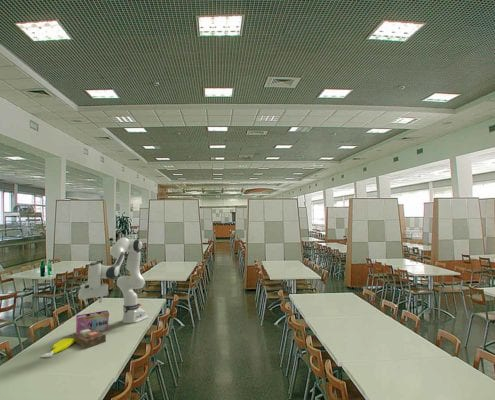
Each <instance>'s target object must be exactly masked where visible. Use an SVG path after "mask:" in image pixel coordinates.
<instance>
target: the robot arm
mask: <svg viewBox="0 0 495 400" xmlns="http://www.w3.org/2000/svg"><path fill="white" fill-rule="evenodd" d="M143 245H144V244H143V241H142V240H140V239H138V238H137V239H134V238H130V239H129V238H127V237H121V238H119V239H118V240H116V242H115V243H114V244H113V245H112V247H111V248H110V254H111V256H112V257H113V258H114V259H116V260H115V262H114V264H112V265H103V264H101V262H98V261H96V262H91V263H90V264H89V265H88V268H87V269H88V270H87V277H88V278H87V282H85V283H83V284H80V289H79V290H78V294H77V295H78V296H77V297H78V299H79V300H82V301H83V302H84V305H85V306H87V305H89V302H88V301H87V299H94V298H98V297H100V299H98V303H102V301H103V299H104V297H105V296H106V297H107V296H108V295H109V284H108V283H107V282H105V283H104V282H103V283H101V282H102V281H101V279H106V280H107V279H109V280H115V279H116V278H117V277H118V278H117V279H116V285H117V287H118V288H119V289H120V290H121V292H122V295H123V304H122V305H123V306H122V307H123V309H122V310H123V313H122V319H121V323H123V324H131V323H132V324H133V323H134V324H136V323H140V322H141V321H144V320H146V319H147V318H149V315H147V314H146V311H145V310H144V309H142V307H141V306H142V303H138V294H137V293H136V292H135V291H134V290H133V289H135V290H138V289H143V287H144V286H145V284H146V280H145V278H144V277H143V276H142V274H141V271H140V267H141V266H140V263H141V251H142V249H143V247H144V246H143ZM126 252H128V254H127V260H126V270H127V271H128V272H129V273H130V275H122V276H119V274H120V270H121V269H122V266H123V263H124V261H125V259H126Z"/></svg>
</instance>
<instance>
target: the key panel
mask: <svg viewBox="0 0 495 400" xmlns="http://www.w3.org/2000/svg"><path fill="white" fill-rule="evenodd" d="M90 330H91V332H94V331H95V330H92V329H90ZM95 332H97V333H98V336H96V337H94V338H89V337H87V335H81V334H80V333H77V334H76V333H75V334H72V337H71V338H74V339H75V342H74V343H73V344H76V345H78V346H80V347H83V348H85V349H88V348H91V347H94V346H98V345H100V344H102V343H105V342H106V341H107V340H106V339H107V334H106V333H103V332H102V331H95Z"/></svg>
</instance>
